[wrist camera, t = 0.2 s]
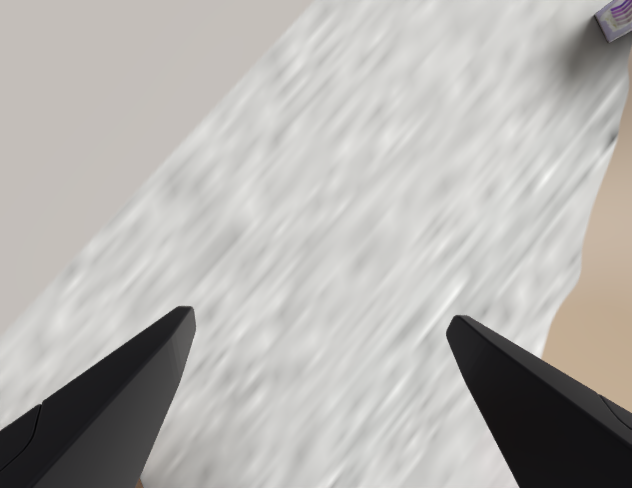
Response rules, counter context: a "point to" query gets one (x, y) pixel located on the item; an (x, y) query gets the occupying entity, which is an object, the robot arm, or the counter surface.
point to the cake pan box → (615, 19)
